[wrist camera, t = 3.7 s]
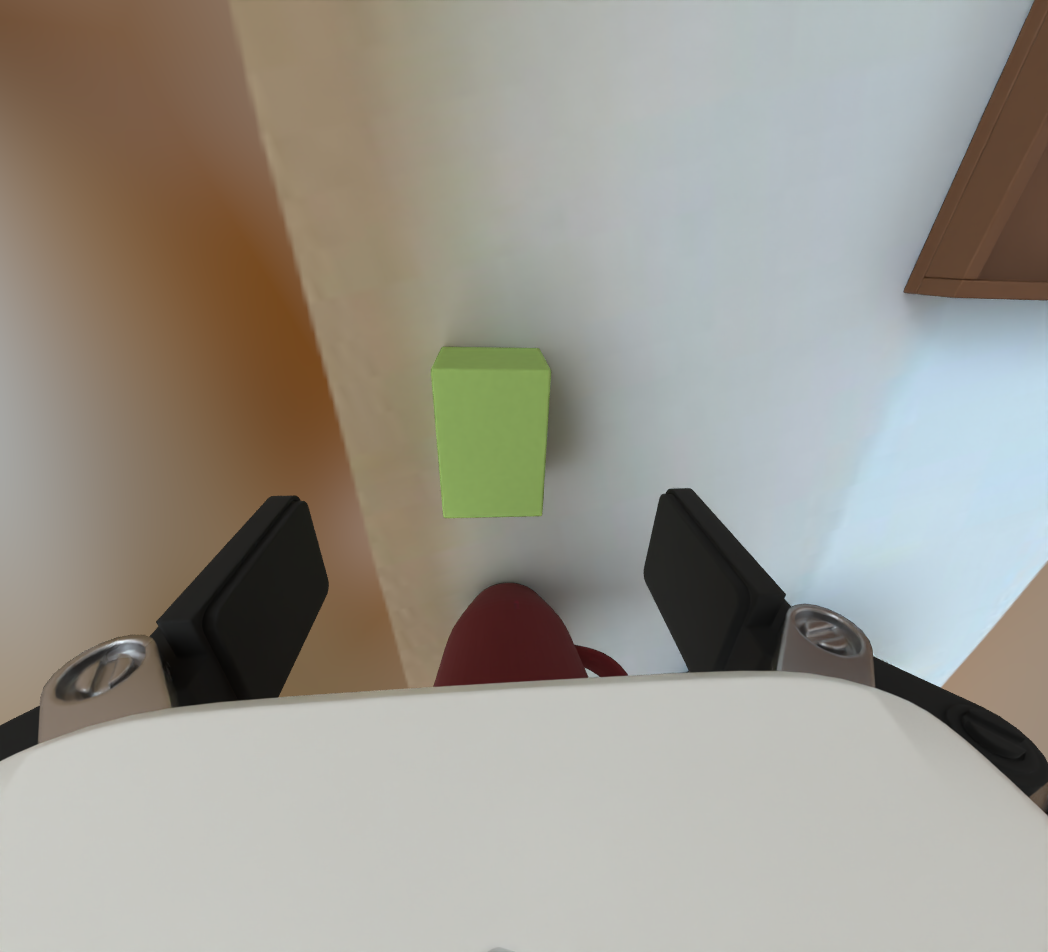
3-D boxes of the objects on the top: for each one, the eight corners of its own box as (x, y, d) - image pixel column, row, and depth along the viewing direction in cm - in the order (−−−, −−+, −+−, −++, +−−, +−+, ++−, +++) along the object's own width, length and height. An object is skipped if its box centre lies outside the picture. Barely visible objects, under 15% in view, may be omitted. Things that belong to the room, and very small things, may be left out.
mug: (629, 560, 23) (719, 753, 14) (597, 653, 26) (651, 851, 18) (439, 549, 21) (406, 758, 12) (435, 650, 25) (407, 864, 16)
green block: (441, 346, 16) (430, 368, 13) (539, 347, 16) (551, 369, 13) (450, 476, 19) (443, 519, 16) (533, 475, 19) (542, 517, 16)
